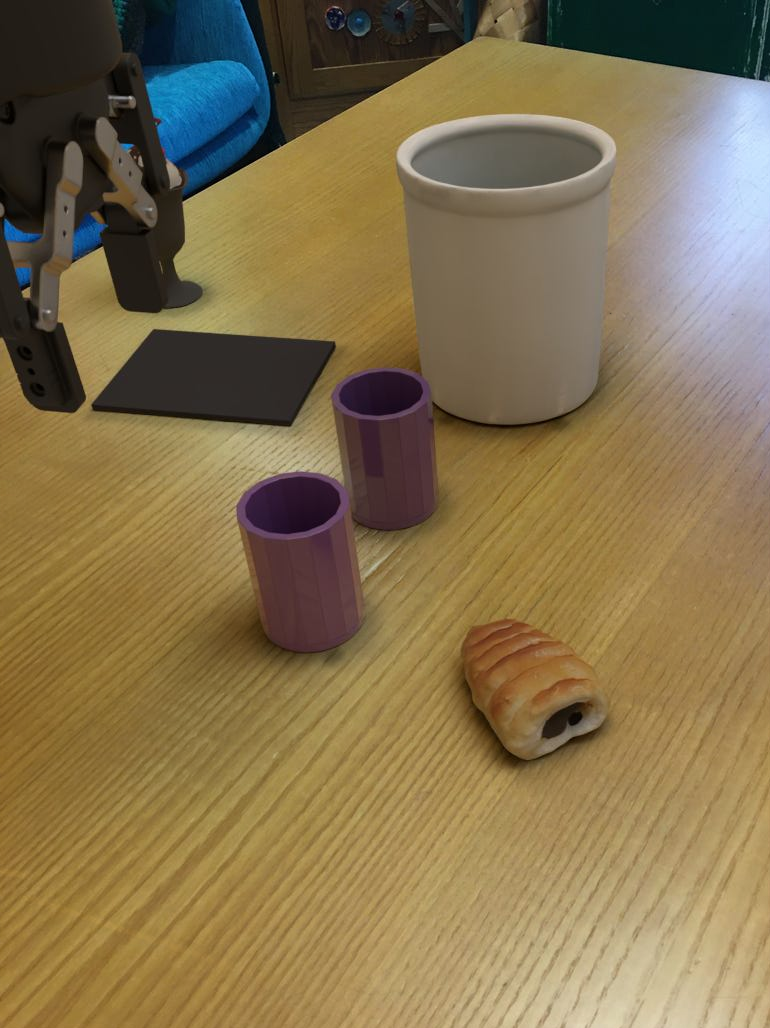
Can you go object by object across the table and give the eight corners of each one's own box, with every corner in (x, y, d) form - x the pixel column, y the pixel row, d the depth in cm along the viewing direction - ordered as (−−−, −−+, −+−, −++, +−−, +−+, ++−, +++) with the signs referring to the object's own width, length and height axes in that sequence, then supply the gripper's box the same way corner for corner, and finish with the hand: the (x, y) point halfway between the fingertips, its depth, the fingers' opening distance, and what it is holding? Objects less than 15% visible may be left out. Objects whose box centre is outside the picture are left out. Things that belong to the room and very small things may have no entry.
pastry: (432, 666, 63) (428, 617, 61) (531, 624, 66) (532, 575, 63) (517, 775, 57) (517, 725, 55) (623, 724, 60) (628, 675, 57)
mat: (92, 410, 85) (90, 404, 84) (154, 334, 93) (153, 328, 93) (290, 426, 82) (289, 420, 82) (336, 346, 90) (335, 341, 90)
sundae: (225, 297, 97) (188, 120, 87) (154, 320, 95) (107, 140, 84) (195, 271, 101) (156, 98, 91) (126, 292, 99) (78, 117, 88)
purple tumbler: (336, 525, 73) (319, 415, 67) (361, 471, 78) (347, 364, 72) (426, 534, 72) (417, 423, 66) (446, 479, 77) (439, 370, 71)
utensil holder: (410, 339, 91) (391, 116, 79) (588, 325, 92) (597, 103, 80) (419, 437, 80) (399, 198, 68) (620, 422, 81) (636, 182, 69)
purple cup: (248, 646, 65) (219, 533, 59) (281, 578, 69) (258, 467, 63) (349, 658, 64) (330, 544, 58) (376, 588, 68) (361, 476, 62)
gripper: (-16, -120, 43) (98, 277, 54) (-263, -25, 33) (-60, 438, 44) (165, -120, 41) (243, 286, 53) (-34, -21, 31) (114, 455, 43)
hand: (105, 355), depth 48 cm, fingers open, 8 cm apart
